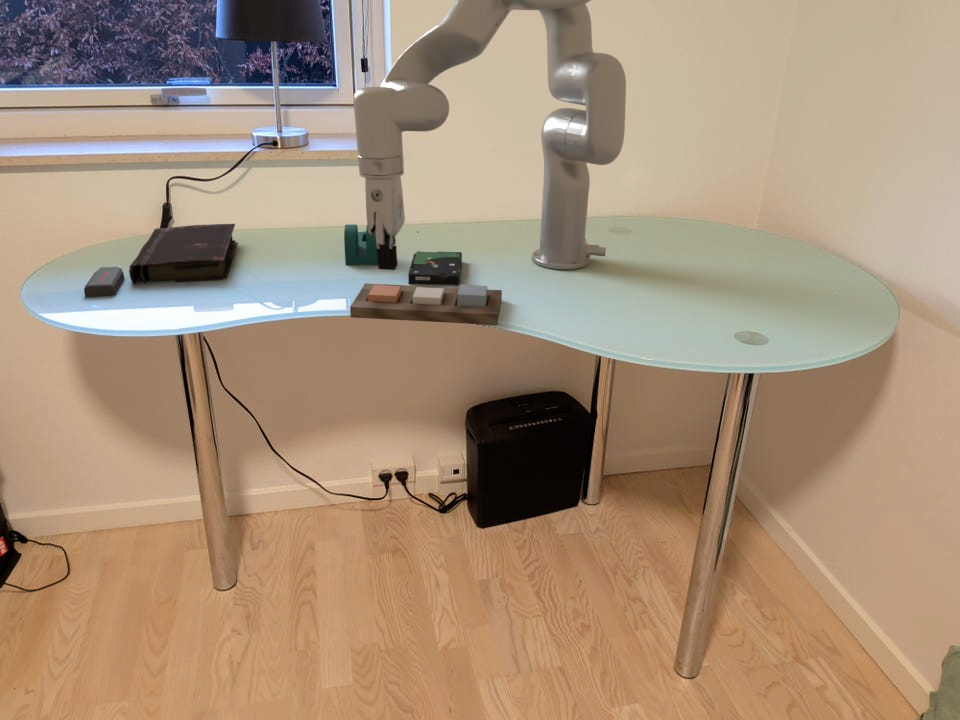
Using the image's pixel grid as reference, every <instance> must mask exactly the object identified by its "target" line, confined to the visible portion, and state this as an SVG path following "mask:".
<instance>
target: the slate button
mask: <svg viewBox="0 0 960 720" xmlns="http://www.w3.org/2000/svg"><path fill="white" fill-rule="evenodd" d="M458 288H459V290H458V293H457V306H468V307H487V305H486V304H487V289H488V285H479V284H478V285H477V284H475V285H474V284H473V285H472V284H460V285H459V287H458Z"/></svg>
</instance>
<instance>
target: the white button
mask: <svg viewBox="0 0 960 720" xmlns="http://www.w3.org/2000/svg"><path fill="white" fill-rule="evenodd" d="M412 298H413V304H429V305H443V303H444V288H426V287H417V288H416V290H415V292H414V295H413V297H412Z"/></svg>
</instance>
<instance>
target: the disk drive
mask: <svg viewBox="0 0 960 720" xmlns="http://www.w3.org/2000/svg"><path fill="white" fill-rule="evenodd" d="M412 256H413V257H412V260H411V263H410V267H409V270H408V275H407V277H408V284H409V285H419V286H460V285H461V273H462V272H461V271H462V266H463V261H462V260H463V252H462V251H458V252H457V251H419V250H417V251H416V252H414V254H413V255H412Z"/></svg>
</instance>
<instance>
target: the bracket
mask: <svg viewBox="0 0 960 720" xmlns="http://www.w3.org/2000/svg"><path fill="white" fill-rule="evenodd" d="M343 238H344V239H343V240H344V243H343V244H344V258H345V259H344V261H345V266H378V259H377V245H376V235H375V234H374V235H373V236H372V235H370V234H369V232H368V226H367V225H366V228H365V231H359V228H358V225H357V224H348V223H347V224H344V233H343Z"/></svg>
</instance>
